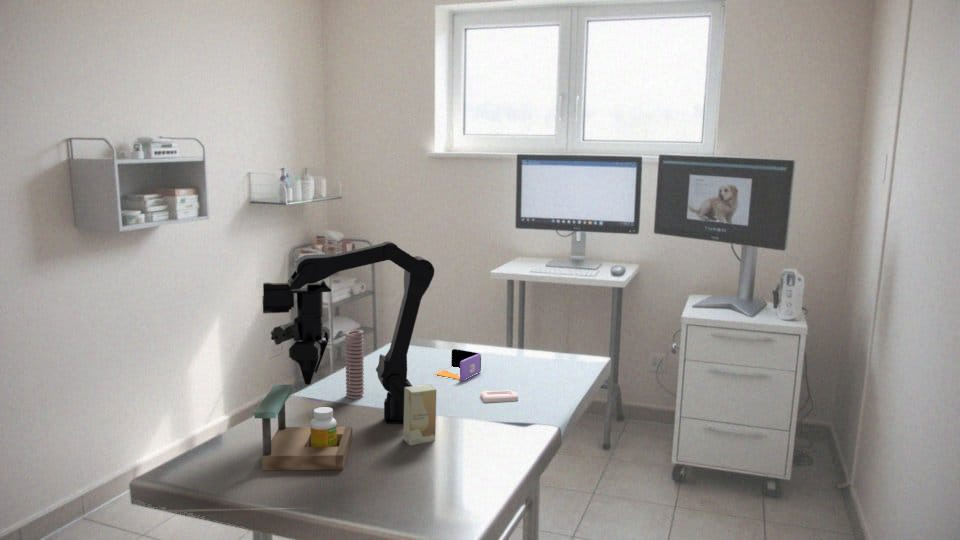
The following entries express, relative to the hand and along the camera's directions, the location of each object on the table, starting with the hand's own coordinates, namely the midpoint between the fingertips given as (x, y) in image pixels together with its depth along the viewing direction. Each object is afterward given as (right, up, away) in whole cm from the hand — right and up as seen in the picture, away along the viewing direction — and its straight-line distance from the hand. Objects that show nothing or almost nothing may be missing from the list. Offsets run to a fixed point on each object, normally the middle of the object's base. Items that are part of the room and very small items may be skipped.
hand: (311, 378), depth 168 cm
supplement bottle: (+6, -14, -13) cm, 20 cm away
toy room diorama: (+32, -7, +44) cm, 55 cm away
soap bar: (+44, -10, +23) cm, 50 cm away
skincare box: (+25, -13, -5) cm, 29 cm away
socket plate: (+3, -14, -13) cm, 19 cm away
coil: (+6, -9, +24) cm, 26 cm away
